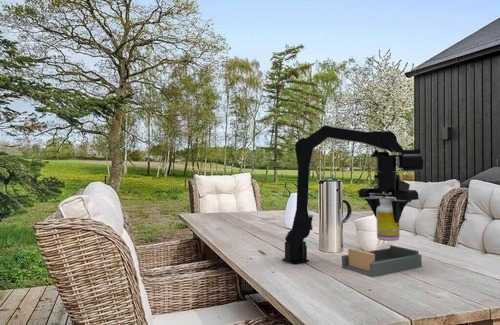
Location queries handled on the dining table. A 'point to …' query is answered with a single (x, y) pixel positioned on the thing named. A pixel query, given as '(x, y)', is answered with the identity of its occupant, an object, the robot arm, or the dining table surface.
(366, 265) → the block
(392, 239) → the supplement bottle
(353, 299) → the dining table surface
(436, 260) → the dining table surface
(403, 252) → the dark grey tray
